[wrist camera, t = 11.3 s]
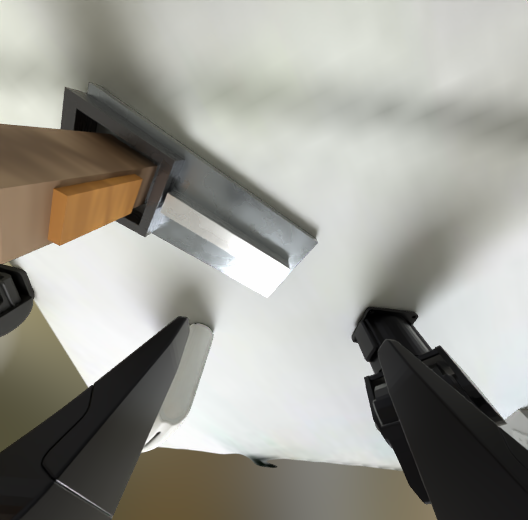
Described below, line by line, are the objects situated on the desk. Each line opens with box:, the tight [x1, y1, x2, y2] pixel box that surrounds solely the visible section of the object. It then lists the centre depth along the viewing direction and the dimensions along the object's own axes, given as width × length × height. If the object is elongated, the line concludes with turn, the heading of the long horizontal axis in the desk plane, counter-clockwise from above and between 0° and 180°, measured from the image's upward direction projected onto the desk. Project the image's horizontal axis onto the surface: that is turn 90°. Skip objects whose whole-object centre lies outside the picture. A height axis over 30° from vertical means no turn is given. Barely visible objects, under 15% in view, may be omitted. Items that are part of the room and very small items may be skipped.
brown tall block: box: [0, 124, 158, 264], centre depth 12 cm, size 5×4×11 cm
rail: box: [61, 82, 318, 297], centre depth 18 cm, size 22×9×3 cm, turn 56°
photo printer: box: [142, 323, 214, 452], centre depth 25 cm, size 10×4×12 cm, turn 140°
